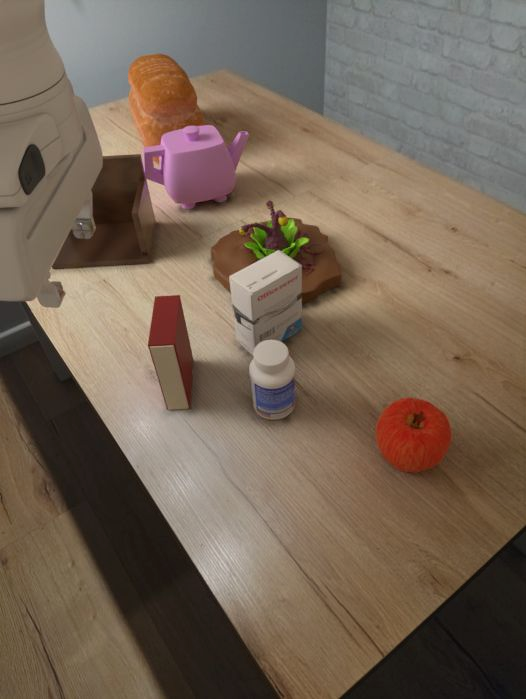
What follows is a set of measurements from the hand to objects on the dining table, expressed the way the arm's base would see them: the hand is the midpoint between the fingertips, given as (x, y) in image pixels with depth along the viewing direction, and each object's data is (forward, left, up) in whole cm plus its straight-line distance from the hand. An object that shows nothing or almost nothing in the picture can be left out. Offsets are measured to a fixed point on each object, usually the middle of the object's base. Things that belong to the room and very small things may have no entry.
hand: (71, 266), depth 48 cm
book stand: (-9, +36, -23) cm, 44 cm away
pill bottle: (+18, 0, -23) cm, 30 cm away
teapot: (+7, +51, -23) cm, 57 cm away
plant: (+20, +27, -23) cm, 41 cm away
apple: (+33, -8, -23) cm, 42 cm away
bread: (-1, +75, -23) cm, 79 cm away
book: (+6, +4, -23) cm, 24 cm away
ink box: (+18, +12, -23) cm, 32 cm away
